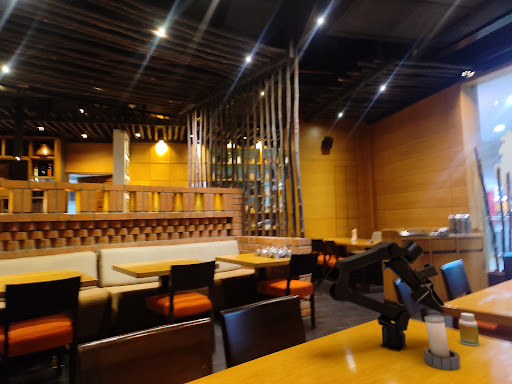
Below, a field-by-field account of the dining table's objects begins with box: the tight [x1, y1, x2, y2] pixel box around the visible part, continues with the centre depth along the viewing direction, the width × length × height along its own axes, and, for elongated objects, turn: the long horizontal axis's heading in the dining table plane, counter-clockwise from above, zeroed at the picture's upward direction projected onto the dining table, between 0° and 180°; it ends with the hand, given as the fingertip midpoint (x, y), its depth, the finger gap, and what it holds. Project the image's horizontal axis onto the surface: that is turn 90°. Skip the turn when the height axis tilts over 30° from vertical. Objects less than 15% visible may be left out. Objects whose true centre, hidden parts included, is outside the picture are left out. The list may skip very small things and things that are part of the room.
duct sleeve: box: [424, 314, 450, 358], centre depth 100 cm, size 5×5×13 cm
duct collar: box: [423, 347, 461, 371], centre depth 99 cm, size 9×9×3 cm
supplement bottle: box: [458, 312, 480, 347], centre depth 115 cm, size 5×5×10 cm
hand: (443, 308), depth 109 cm, fingers open, 9 cm apart
